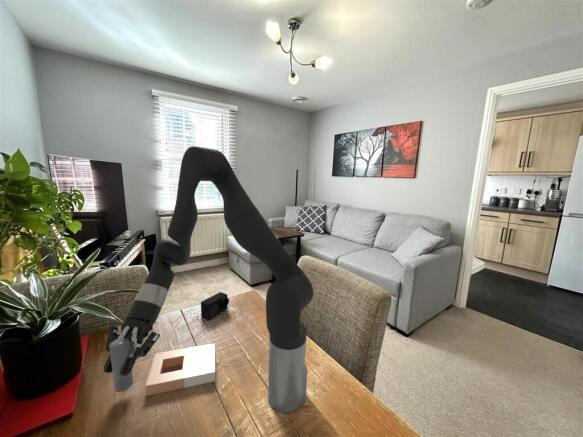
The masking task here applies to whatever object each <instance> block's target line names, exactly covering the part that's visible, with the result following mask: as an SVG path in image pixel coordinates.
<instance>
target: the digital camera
mask: <svg viewBox="0 0 583 437" xmlns="http://www.w3.org/2000/svg"><path fill="white" fill-rule="evenodd" d="M229 303H230V299H229V297H228V294H227V293H224V292H222V291H219V292H218V293H216V294H214V295H211V296H209V297H208V298H206V299H204V300H202V301H201V302H200V316H201V317H202V318H201V319H203V318H204V320H205V319H206V320H205V321H209V322H210V321H211V320H213V319H214V318H216V317H217V316H219V315H221V314H222V313H224V312H225V310H226V309H227V310H228V305H229ZM227 310H226V311H227ZM223 311H224V312H223ZM221 312H222V313H221ZM220 313H221V314H220Z"/></svg>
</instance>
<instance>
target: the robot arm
mask: <svg viewBox="0 0 583 437" xmlns="http://www.w3.org/2000/svg"><path fill="white" fill-rule="evenodd" d="M180 163H181V164H180V170H179V177H178V183H177V193H176V199H175V205H174V209H173V213H172V216H171V219H170V222H169V225H168V228H167V231H166V232H167V236H168V237H169V238H165V237H164V238H162V239H160V240H159V241H157V243H156V244H155V247H154V253H153V258H152V263H151V268H150V270H149V272H148V274H147V277H146V278H145V280H144V282H143V284H142V286H141V287H140V289H139V290H138V292H137V294H136V296H135V297H134V299H133V301H132V304H131V306H130V307H129V310H128V311H127V313H126V319H125V321H124V322H123V323H122V324H121V325H117V326H116V325H111V326H110V328H109V332H108V335H107V340H106V344H105V347H104V350H105V351H107V352H109V353H110V347H109V345H110V344H111V343H112V342H113V341H115V340H117V339H119V338H128V339H129V344H130V352H129V358H127V359H126V361H125V363H124V365H123V367H122V369H121V371H120V375H122V376H127V375H128V373H130V372H131V370H132V371H133V367H134V366H135V364H136V361H137V359H139V358H144V357H146V356H147V355H148V353H149V352H150V350H151V349H152V348H153V346H154V345H155V344H156V342H157V341H158V339H159V338H160V336H161V335H160V333H158V332H156V331H154V330H153V329H154V327H153V326H154V324H156V322H157V319H158V318H159V315H160V313H161V310H162V308H163V305H164V303H165V302H166V301H165V300H166V299H167V296H168V292H169V290H170V287H171V285H172V284H173V281H174V278H175V272H174V270H172V269H170V268H168V267H166V266H165V265H164V264H163V262H166V263H170V264H173V265H175V266H183V265H184V264H186V263H187V262H188V261H189V259H190V256H191V241H192V236H193V232H194V230H195V229H196V228H195V227H196V224H197V222H198V218H199V216H198V214H199V213H198V208H197V204H196V198H195V197H196V191H197V188H198V186H199V184H200V182H211V183H212V184H213V185H214V187H215V188H216V190H218V192H219V194H220V196H221V198H222V200H223V201H222V202H223V219H224V223H225V225H226V227H227V229H228V230H229V232H230V234H231V235H232V236H233V238H234V240H235V241H236V243H237V244H238V245H239V246H240V247H241V248H242V249H243V250H245V251H247V253H249V254H250V255H252V256H253V257H255V258H256V259H258V260H259V261H261V262H262V263H263V264H265V265H266V267H267V268H268V269H269V271H271V273H272V275H273V276H274V277H275V279H276V280H275V281H274V282H273V283H271V284H270V285H269V287H268V288H267V291H266V294H265V295H266V296H265V316H266V317H265V319H266V320H265V321H266V328H267V331H268V335H269V338H268V339H269V341H268V342H269V344H268V345H269V346H268V347H269V348H268V378H267V379H268V381H267V382H268V384H267V386H268V387H267V399H268V403H269V404H270V406H271V407H272V408H273V409H274V410H276V411H277V412H280V413H292V412H294V411H297V409H299V408H300V406H301V405H302V404H304V403H305V402H307V387H308V386H307V385H308V368H307V365H306V363H305V362H306V347H307V346H306V345H307V328H306V325H305V323H303V322H302V321H301V312H302V311H303V310H304V309H305V308H306V307H307V306H308V305H309V304H310V303H311V302H312V300H313V298H314V287H313V284H312V283H311V282H312V281H311V280H310V279H309V278H308V276H307V274H306V273H305V272H304V271H303V270H302V269H301V267H300V266H299V265H298V263H296V262H295V260H294V259H293V258H292V257H291V255H290V254H289V253H288V251H287V250H286V249H285V248H284V246H283V245H282V244H281V242H280V240H279V238H278V237H277V236H276V235H275V233H274V232H273V231H272V229H271V227H270V226H269V225H268V222H267V221H266V220H265V218H264V217H263V215H262V214H261V212H260V211H259V209H258V208H257V206H256V205H255V204H254V202H253V201H252V200H251V198H250V196H249V195H248V193H247V192H246V190H245V189H244V187H243V186H242V184H241V182H240V181H239V179H238V177H237V175H236V174H235V172H234V169H233V168H232V166H231V164H230V161H228V158H227V157H226V156H225V154H224V153H222V151H220V150H218V149H215V148H210V147H205V146H200V145H199V146H198V145H192V146H189V147H188V148H187V149H186V150H184V154H183V156H182V159H181V162H180ZM103 373H108V374H111V373H112V365H111V356H110V354H109V356H108V358H107V360H106V362H105V363H104V364H103Z"/></svg>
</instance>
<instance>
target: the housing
mask: <svg viewBox="0 0 583 437" xmlns="http://www.w3.org/2000/svg"><path fill="white" fill-rule="evenodd" d="M215 352H216V349H215V343H210V344H204V345H203V344H202V345H196V346H191V347H185V348H180V349H175V350H174V349H173V350H168V351H162V352H156V353H154V357H153V360H152V363H151V366H150V369H149V372H148V376H147V380H146V383H145V396H146V397H149V396H153V395H159V394H162V393H167V392H172V391H177V390H181V389H185V388H190V387H195V386H199V385H204V384H208V383H213V382H216V354H215ZM178 366H182V369H179V370H173V371H169V372H164V369H166V368H167V369H168V368H172V367H178Z"/></svg>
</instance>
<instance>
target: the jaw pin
mask: <svg viewBox="0 0 583 437" xmlns="http://www.w3.org/2000/svg"><path fill="white" fill-rule="evenodd" d="M109 347H110V352H109V355H110V356H111V365H112V372H111V373H112V374H111V375H112V381H113V389H114V390H113V391H115V392H116V393H119V392H124V391H126V390H128V389H130V388H131V387H132V385H133V384H134V378H133V376H134V375H133V369H132V370H131V372H130V373H128V375H127V376H122V375H120V371H121V369H122V367H123V365H124V363H125V361H126V359H127V358H129V352H130V343H129V339H128V338H119V339H117V340H115V341H113V342H112V343H111V344H110V345H109Z"/></svg>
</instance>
